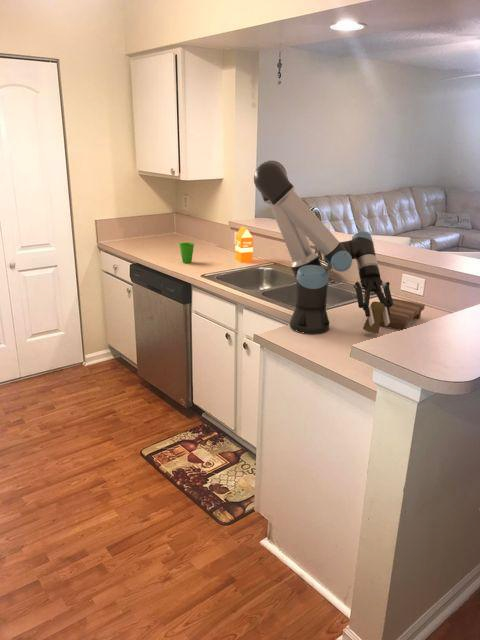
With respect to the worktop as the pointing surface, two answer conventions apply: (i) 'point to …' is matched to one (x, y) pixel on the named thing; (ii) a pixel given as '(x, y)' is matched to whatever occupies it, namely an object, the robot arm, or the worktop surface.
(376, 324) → the cork
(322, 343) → the worktop surface
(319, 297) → the robot arm
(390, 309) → the walnut shelf
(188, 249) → the cup
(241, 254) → the orange juice
